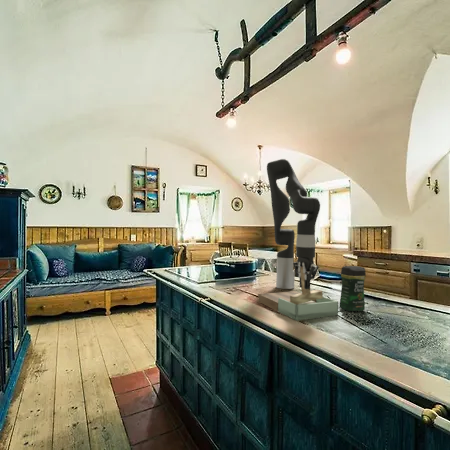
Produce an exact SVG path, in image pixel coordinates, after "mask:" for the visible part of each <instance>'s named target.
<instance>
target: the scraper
mask: <svg viewBox="0 0 450 450" xmlns="http://www.w3.org/2000/svg"><path fill="white" fill-rule="evenodd" d="M306 272H309V271H306ZM307 277H308V274H307ZM304 280H305V274H304V273H303V267H301V285H302V288H301V292H298V293H299V294H295V295H291V296H290V302H291V303H294V304H296V305H297V304H301V303H305V302H309V301H313V300H317V299H321V298H323V297H324V296H323V290H322V289H313V290H311V288H310V289H305V288H304Z"/></svg>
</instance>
